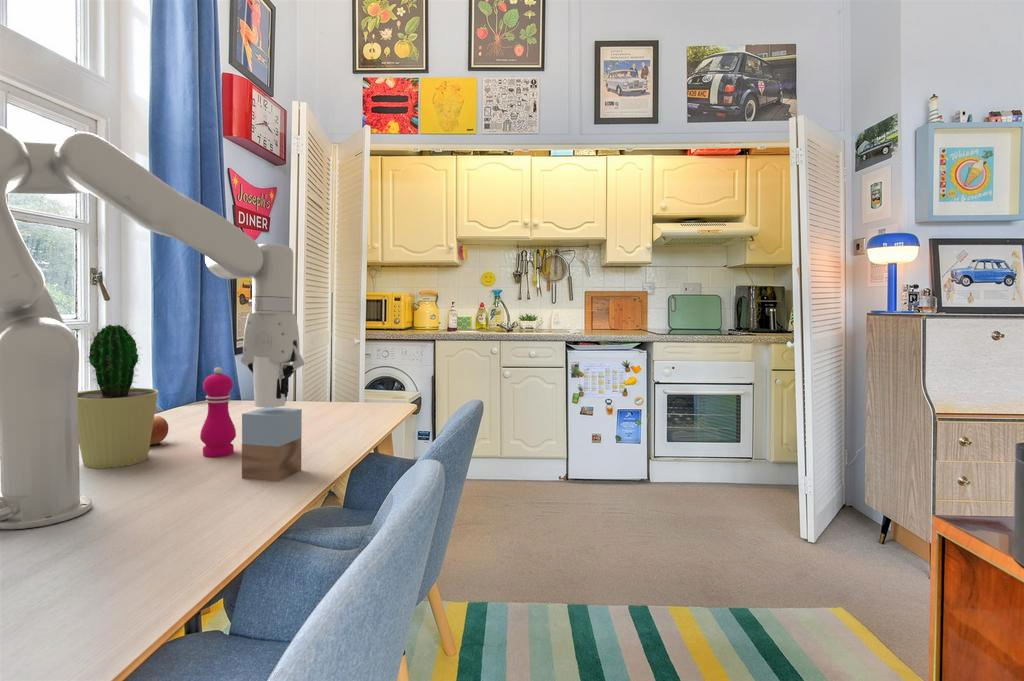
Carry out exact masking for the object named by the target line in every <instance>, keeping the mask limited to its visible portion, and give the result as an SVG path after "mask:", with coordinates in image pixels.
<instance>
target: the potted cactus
mask: <svg viewBox="0 0 1024 681" xmlns="http://www.w3.org/2000/svg"><path fill="white" fill-rule="evenodd" d="M123 325H124V324H123ZM123 325H120V324H118V323H117V324H116V323H115V325H112V324H108V325H105V326H104V327H101V329H98V328H96V329H97V330H98V331H97V330H96V331H97V333H96V335H95V332H92V336H93V337H92V336H91V339H90V338H88V337H87V340H88V341H90V342H91V343H90V345H88V346H87V348H86V347H85V349H86V350H87V352H88V357H85V360H86V359H87V360H86V361H85V363H87V364H88V363H89V365H87V366H86V368H87V367H89V366H90V367H91V366H92V367H93V368H94V369H93V371H92V372H91V374H93V373H94V375H95V378H93V379H91V381H94V382H93V383H97V384H98V385H96V387H97V386H99V387H98V389H92V390H85V391H80V392H79V391H78V420H79V451H80V455H81V460H82V464H83V466H84V467H86V468H89V467H90V468H91V469H111V468H110V467H113V468H120V467H119V466H121V467H126V466H125V465H127V466H131V465H130V464H132V465H135V463H136V464H138V463H141V462H144V461H147V459H148V456H149V452H150V446H151V445H150V440H151V433H152V427H153V421H154V416H155V413H156V408H157V401H158V393H159V390H158V389H155V388H149V387H147V388H145V387H144V388H143V387H133V386H132V384H133V383H134V382H135V383H138V382H137V381H135V380H134V377H138V376H139V377H140V375H138V374H135V371H139V369H138V368H137V367H136V365H137V364H138V365H141V364H140V361H141V359H139V356H141V354H140V351H138V350H139V349H142V347H141V346H138V347H137V344H139V342H136V339H135V338H133V335H134V334H135V333H136V332H133V329H131V331H130V329H128V327H127V326H128V324H125V325H124V326H123ZM132 332H133V333H132ZM140 347H141V348H140ZM88 348H89V349H88Z"/></svg>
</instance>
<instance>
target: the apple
mask: <svg viewBox="0 0 1024 681" xmlns="http://www.w3.org/2000/svg"><path fill="white" fill-rule="evenodd" d="M168 433H169V424H168V422H167V420H166V419H165V418H164V417H162V416H159V415H157V416H155V415H154V421H153V427H152V433H151V440H150V446H151V445H157V444H159V443H162V442H163V441H164V440H165V439H166V437H167V436H168Z"/></svg>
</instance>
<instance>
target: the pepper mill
mask: <svg viewBox="0 0 1024 681" xmlns="http://www.w3.org/2000/svg"><path fill="white" fill-rule="evenodd" d="M213 373H214V374H210V375H208V376H207V377H206V378H205V379H204V381H203V384H202V388H203V391H204V392H205V394H206V396H205V399H206V400H205V402H206V403H207V414H206V418H205V421H204V422H203V425H202V427H201V430H200V435H199V436H200V441H201V442H202V443H203V444H204V446H203V447H202V455H203V456H204V457H207V458H220V457H226V456H230V455H232V454H233V453H234V451H235V450H234V444H233V443H232V442H233V441H234V439H235V438H236V437H237V432H236V428H235V424H234V423H233V420H232V418H231V416H230V415H231V414H230V413H229V412H230V411H229V403H230V401H231V395H230V392H231V391H232V390H233V387H234V382H233V380H232V378H231V377H230V376H229V375H226V374H224V373H223V368H221V367H219V366H217V367H214V369H213Z"/></svg>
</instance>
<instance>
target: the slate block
mask: <svg viewBox="0 0 1024 681" xmlns="http://www.w3.org/2000/svg"><path fill="white" fill-rule="evenodd" d="M302 410H303V409H302V408H301V409H300V408H289V407H267V408H265V407H261V408H258V409H255V410H251V411H247V412H244V413H241V445H242V444H250V445H263V446H275V447H279V446H282V445H284V444H287V443H289V442H292V441H294V440H297V439H299V438H301V439H302V438H303V437H302V436H303V435H302V434H303V432H302V423H303V422H302V420H303V419H302V416H303V415H302V413H303V412H302Z"/></svg>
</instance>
